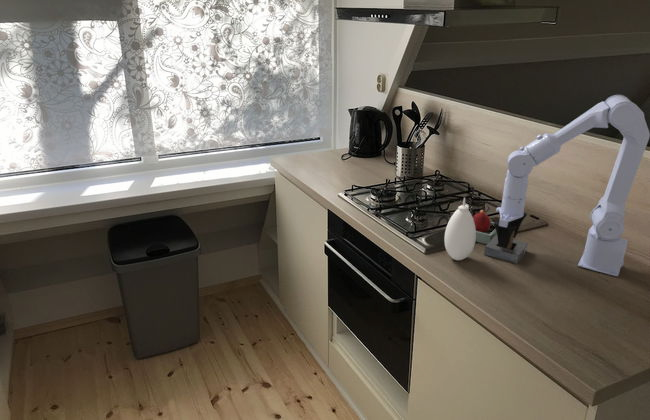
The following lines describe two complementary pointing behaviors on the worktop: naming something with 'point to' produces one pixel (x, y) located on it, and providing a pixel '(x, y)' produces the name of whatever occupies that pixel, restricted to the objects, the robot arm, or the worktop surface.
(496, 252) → the gray square socket block
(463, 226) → the sauce bottle
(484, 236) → the case
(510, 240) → the tan upright cylinder
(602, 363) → the worktop surface
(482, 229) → the onion
